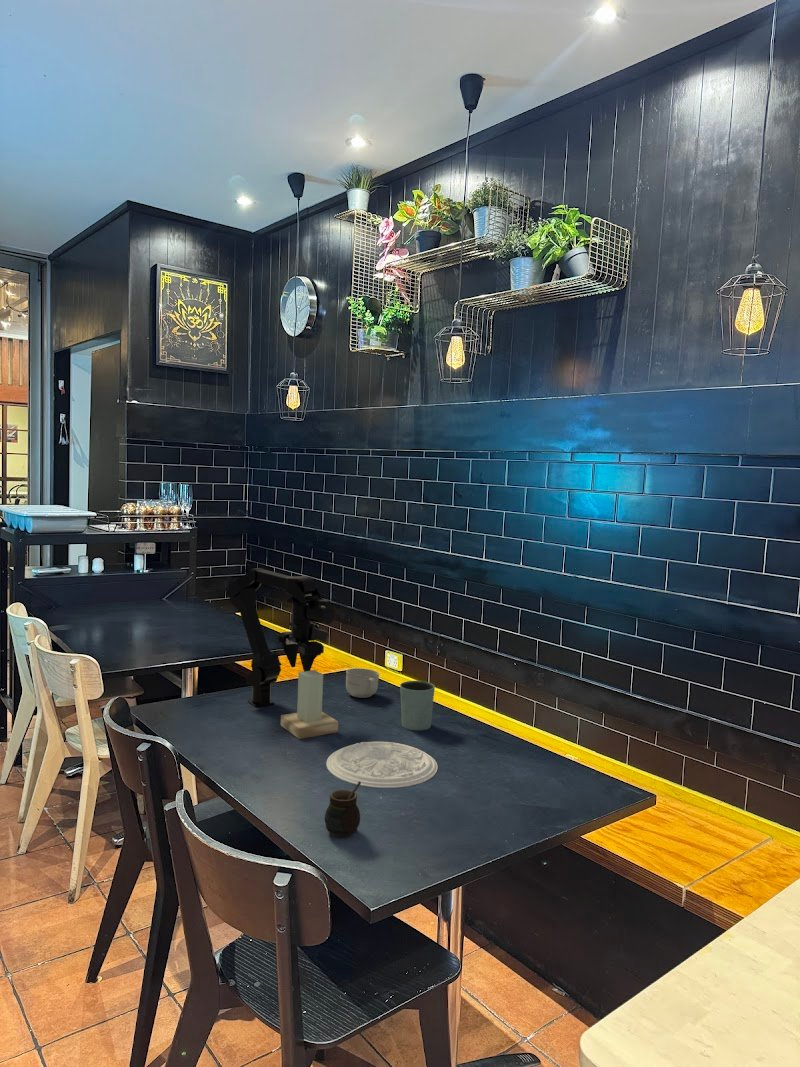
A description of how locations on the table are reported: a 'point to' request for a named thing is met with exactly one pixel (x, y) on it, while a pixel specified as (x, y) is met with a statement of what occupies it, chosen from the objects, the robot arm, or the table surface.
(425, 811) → the table surface
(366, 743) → the ceiling medallion
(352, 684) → the teacup
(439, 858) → the table surface
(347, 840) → the table surface
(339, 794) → the mate gourd
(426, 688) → the grey-green cup
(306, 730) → the maple base
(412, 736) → the table surface
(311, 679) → the sage pillar
